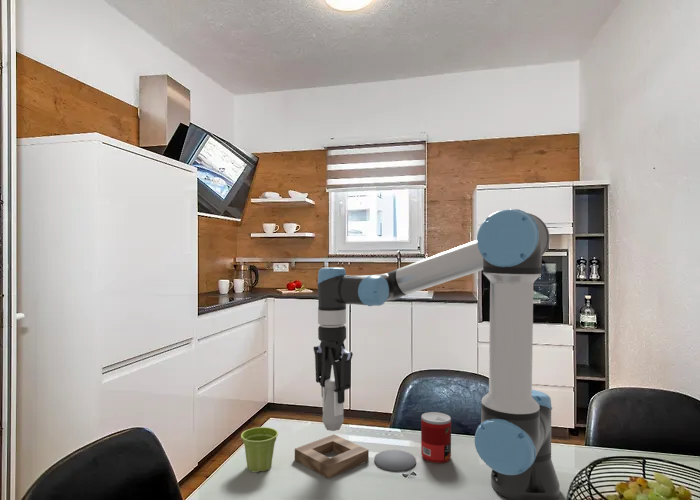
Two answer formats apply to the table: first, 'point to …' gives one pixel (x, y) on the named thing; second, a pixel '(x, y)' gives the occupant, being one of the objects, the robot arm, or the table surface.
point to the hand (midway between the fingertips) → (332, 412)
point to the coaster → (395, 460)
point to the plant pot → (259, 447)
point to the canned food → (436, 437)
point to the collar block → (330, 467)
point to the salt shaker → (331, 408)
